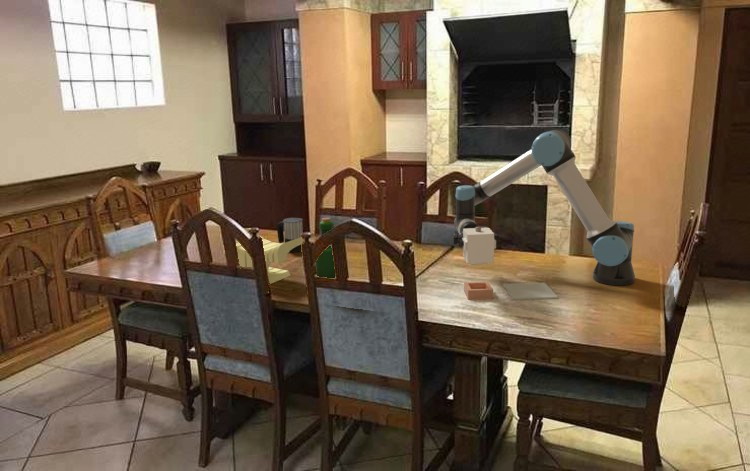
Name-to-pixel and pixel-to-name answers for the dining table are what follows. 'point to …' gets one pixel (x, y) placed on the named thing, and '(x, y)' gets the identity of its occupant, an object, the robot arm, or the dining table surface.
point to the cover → (478, 246)
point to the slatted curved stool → (269, 256)
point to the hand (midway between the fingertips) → (480, 245)
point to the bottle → (325, 253)
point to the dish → (478, 290)
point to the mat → (529, 291)
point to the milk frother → (290, 231)
